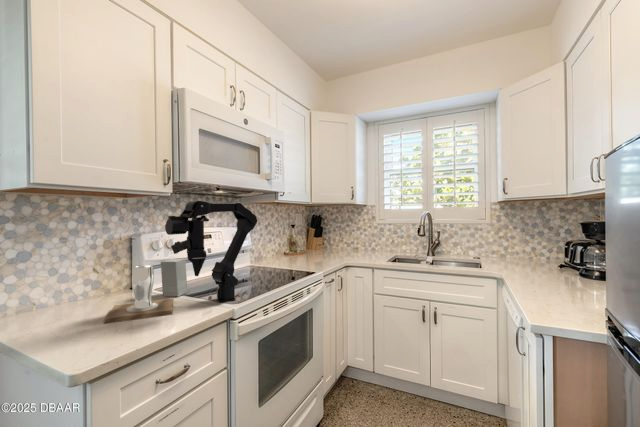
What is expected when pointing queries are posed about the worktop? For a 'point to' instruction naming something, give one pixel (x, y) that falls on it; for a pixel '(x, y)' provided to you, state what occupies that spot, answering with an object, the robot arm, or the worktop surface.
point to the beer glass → (142, 286)
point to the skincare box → (174, 277)
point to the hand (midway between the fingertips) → (196, 273)
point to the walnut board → (139, 311)
